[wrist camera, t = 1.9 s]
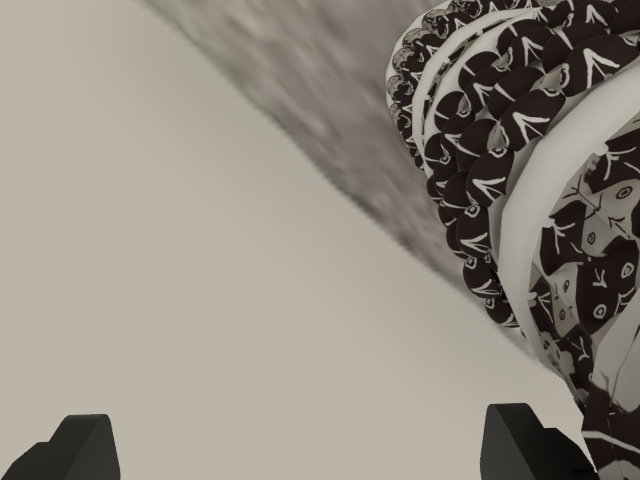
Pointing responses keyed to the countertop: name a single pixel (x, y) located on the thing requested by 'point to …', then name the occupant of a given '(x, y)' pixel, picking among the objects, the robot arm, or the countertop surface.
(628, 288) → the decorative candle
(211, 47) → the countertop surface
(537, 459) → the robot arm
